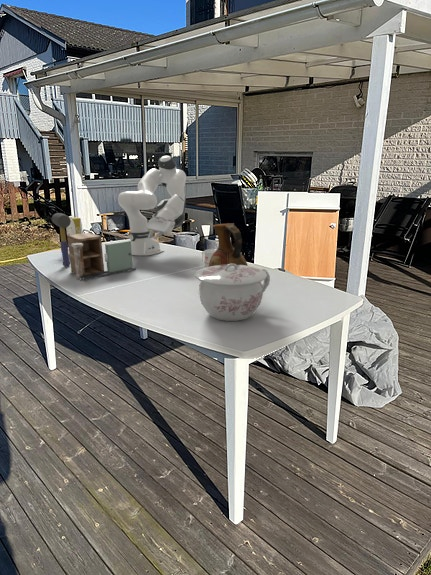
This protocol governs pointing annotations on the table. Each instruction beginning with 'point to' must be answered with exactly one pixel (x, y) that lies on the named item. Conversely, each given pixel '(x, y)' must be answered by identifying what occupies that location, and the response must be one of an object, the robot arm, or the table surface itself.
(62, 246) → the rubber mallet
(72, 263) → the walnut cabinet
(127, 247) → the cabinet door
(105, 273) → the door track
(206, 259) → the mug
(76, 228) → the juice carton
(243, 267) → the chamber pot
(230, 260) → the ceramic pitcher
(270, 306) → the table surface
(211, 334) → the table surface
